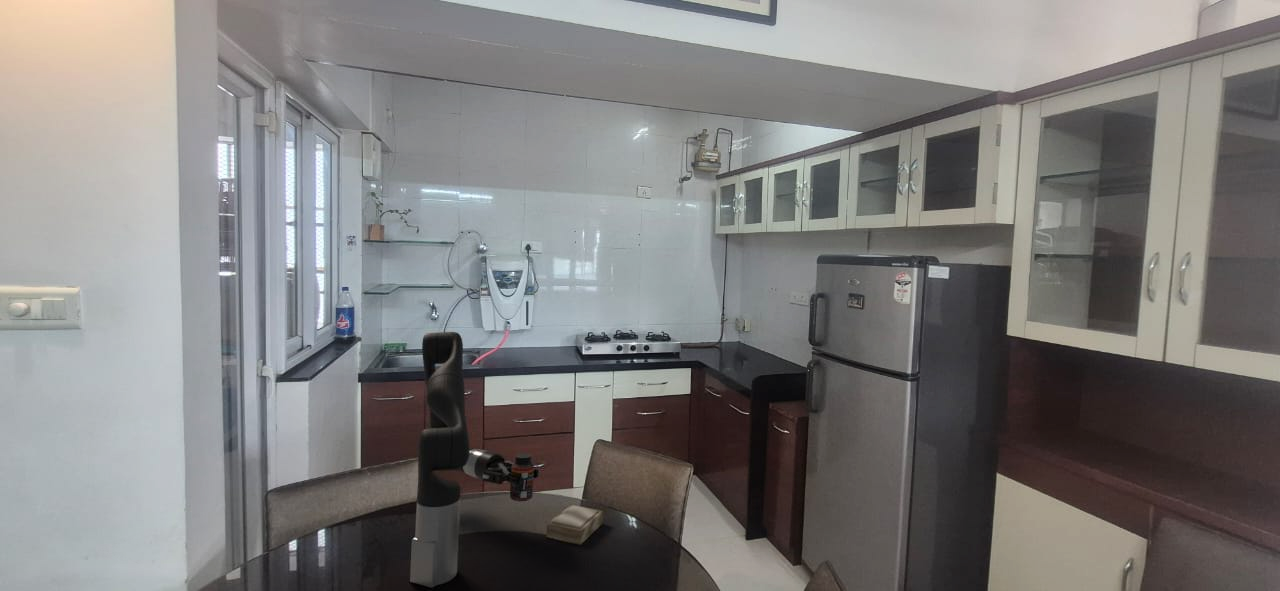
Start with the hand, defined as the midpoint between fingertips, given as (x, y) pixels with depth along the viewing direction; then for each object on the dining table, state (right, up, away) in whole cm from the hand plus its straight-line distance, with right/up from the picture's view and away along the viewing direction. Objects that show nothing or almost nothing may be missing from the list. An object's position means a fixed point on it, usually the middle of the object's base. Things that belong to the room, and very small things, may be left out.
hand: (529, 477), depth 140 cm
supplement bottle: (-2, -6, +1) cm, 7 cm away
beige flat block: (+11, -17, +6) cm, 21 cm away
